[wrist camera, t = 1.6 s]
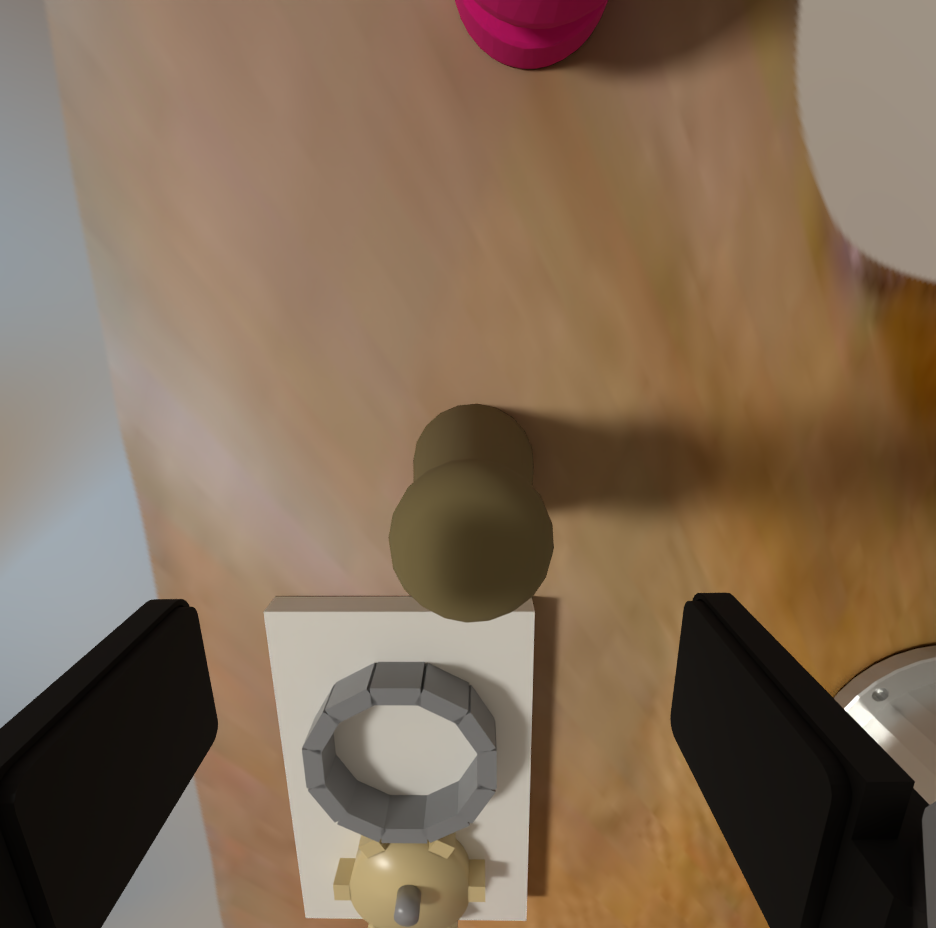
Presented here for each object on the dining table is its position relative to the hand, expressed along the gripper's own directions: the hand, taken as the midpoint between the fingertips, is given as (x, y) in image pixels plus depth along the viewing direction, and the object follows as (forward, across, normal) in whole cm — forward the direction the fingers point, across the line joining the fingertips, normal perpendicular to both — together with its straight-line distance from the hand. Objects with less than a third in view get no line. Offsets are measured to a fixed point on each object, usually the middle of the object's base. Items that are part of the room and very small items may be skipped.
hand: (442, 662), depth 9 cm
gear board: (+15, +3, +19) cm, 25 cm away
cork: (+16, -1, 0) cm, 16 cm away
